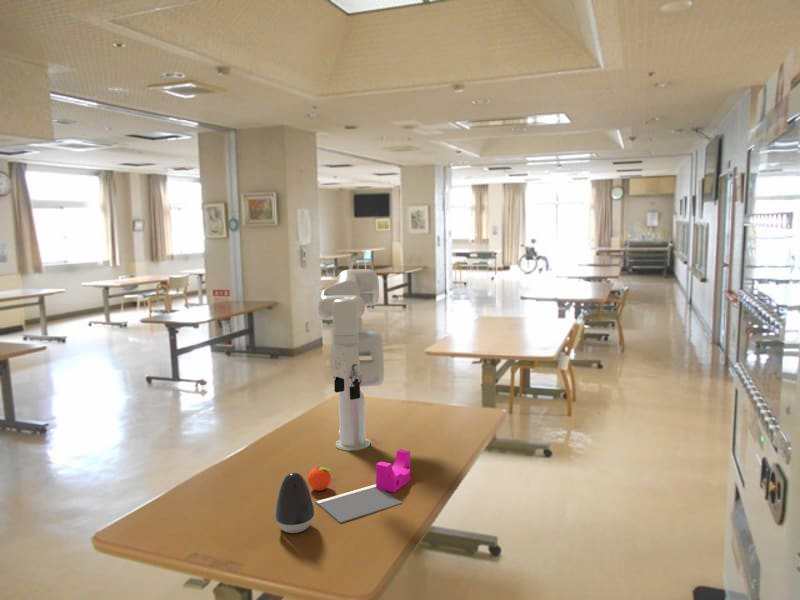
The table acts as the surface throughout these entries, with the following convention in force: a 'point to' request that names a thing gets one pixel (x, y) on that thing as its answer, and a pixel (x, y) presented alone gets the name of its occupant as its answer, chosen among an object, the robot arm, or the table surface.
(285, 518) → the dark grey rounded cone
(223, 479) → the table surface
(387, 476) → the toy block
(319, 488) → the clementine
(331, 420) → the table surface
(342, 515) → the mat
